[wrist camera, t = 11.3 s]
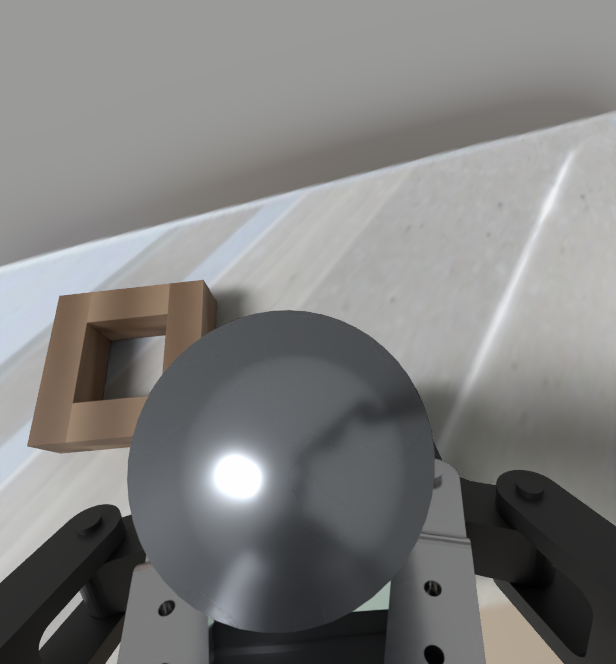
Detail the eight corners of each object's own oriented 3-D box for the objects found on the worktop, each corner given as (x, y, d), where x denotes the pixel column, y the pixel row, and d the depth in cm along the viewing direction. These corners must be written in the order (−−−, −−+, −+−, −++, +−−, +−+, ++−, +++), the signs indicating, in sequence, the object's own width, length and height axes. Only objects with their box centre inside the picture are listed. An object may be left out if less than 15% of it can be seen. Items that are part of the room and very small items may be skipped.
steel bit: (361, 452, 20) (403, 297, 6) (372, 540, 19) (469, 619, 4) (284, 459, 21) (143, 324, 6) (288, 547, 19) (106, 645, 4)
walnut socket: (216, 301, 29) (203, 279, 27) (213, 439, 25) (197, 429, 23) (85, 315, 30) (59, 296, 27) (60, 453, 26) (27, 446, 23)
